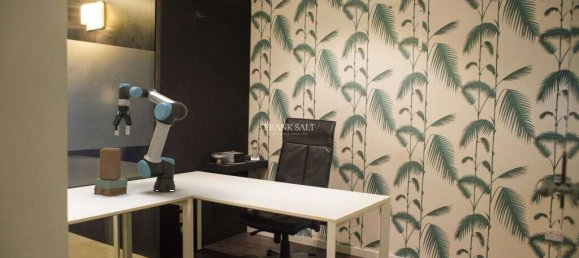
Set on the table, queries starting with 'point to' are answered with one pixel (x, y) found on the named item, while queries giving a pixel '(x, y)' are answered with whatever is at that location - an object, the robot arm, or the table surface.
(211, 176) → the table surface
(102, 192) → the tower base
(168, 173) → the robot arm
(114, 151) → the block
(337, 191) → the table surface
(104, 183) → the tower top
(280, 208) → the table surface
